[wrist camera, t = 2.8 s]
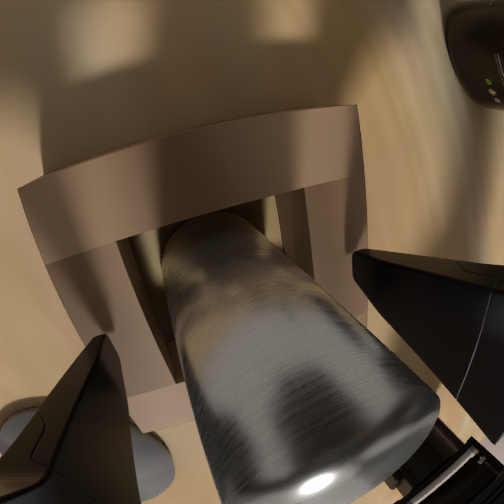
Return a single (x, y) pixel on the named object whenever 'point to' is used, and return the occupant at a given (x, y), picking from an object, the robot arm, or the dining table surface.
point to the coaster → (144, 450)
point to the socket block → (188, 206)
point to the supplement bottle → (479, 49)
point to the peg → (284, 373)
